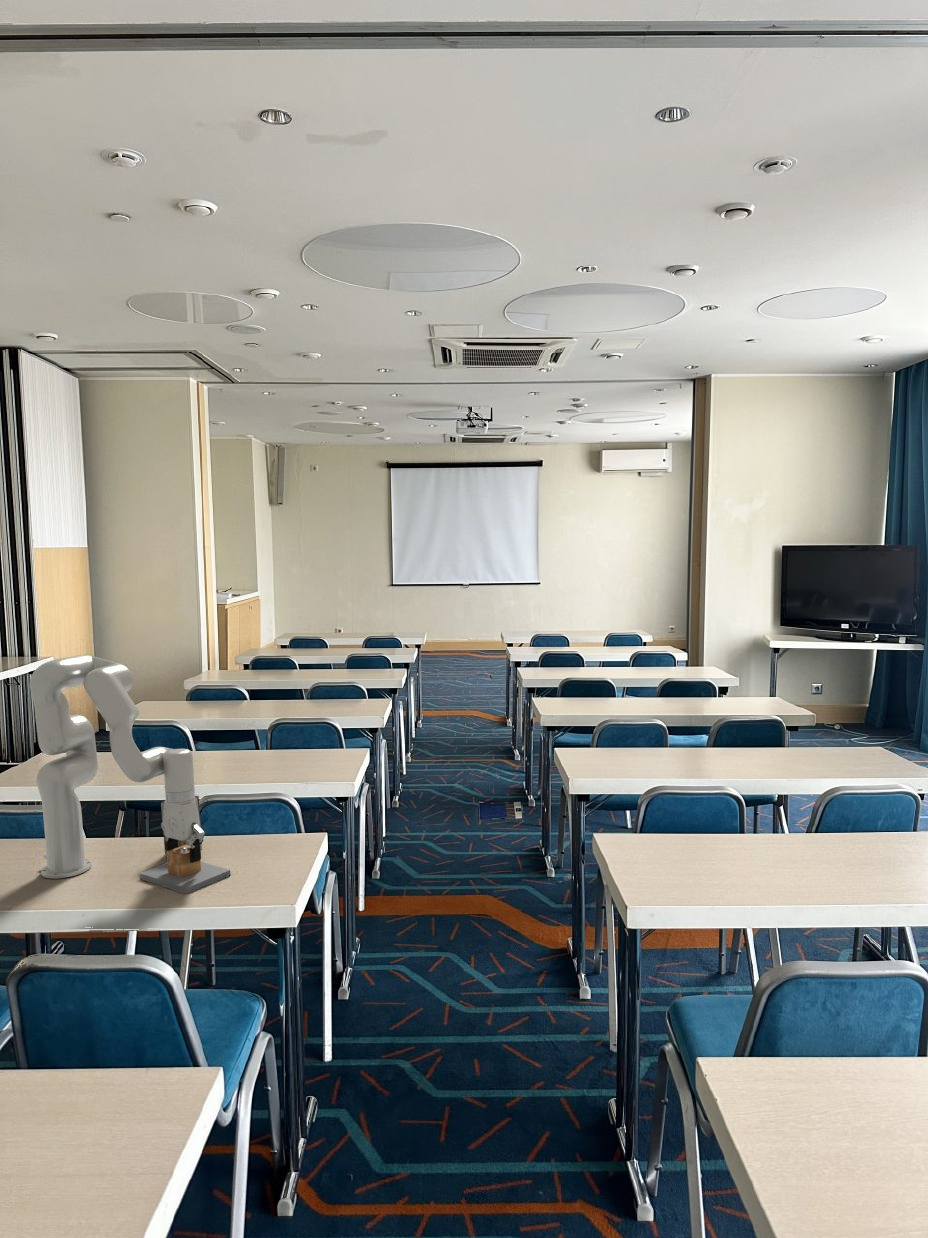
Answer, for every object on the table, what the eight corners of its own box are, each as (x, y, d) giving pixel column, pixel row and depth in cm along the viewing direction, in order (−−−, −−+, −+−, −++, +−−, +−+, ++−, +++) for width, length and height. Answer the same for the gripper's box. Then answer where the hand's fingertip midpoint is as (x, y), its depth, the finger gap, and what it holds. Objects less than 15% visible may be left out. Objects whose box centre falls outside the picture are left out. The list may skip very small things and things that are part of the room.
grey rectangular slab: (140, 878, 222) (139, 873, 222) (184, 862, 233) (183, 856, 233) (186, 893, 211) (186, 888, 210) (230, 875, 222) (230, 870, 222)
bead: (168, 873, 221) (166, 851, 221) (187, 866, 226) (185, 844, 226) (182, 877, 218) (181, 855, 217) (201, 870, 223) (199, 848, 222)
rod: (180, 872, 222) (178, 848, 221) (185, 870, 223) (184, 846, 223) (184, 873, 221) (182, 849, 220) (189, 871, 222) (188, 847, 222)
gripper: (148, 795, 222) (152, 856, 223) (188, 804, 212) (192, 868, 214) (172, 788, 228) (176, 848, 230) (212, 796, 218) (216, 859, 220)
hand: (184, 858), depth 222 cm, fingers open, 9 cm apart
